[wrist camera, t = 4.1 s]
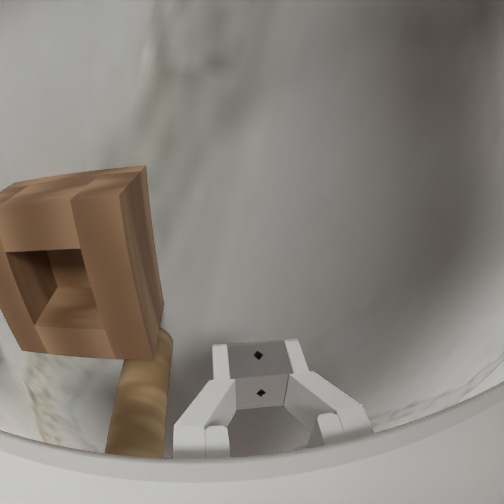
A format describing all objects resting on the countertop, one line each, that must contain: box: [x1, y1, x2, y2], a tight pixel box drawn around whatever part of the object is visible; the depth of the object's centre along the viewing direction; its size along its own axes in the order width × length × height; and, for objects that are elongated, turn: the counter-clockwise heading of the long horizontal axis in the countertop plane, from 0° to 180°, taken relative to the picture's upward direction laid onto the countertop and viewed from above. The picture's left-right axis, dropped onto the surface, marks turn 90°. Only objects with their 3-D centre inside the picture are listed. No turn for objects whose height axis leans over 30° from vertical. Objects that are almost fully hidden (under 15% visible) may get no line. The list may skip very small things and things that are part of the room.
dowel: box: [105, 328, 173, 458], centre depth 17 cm, size 3×3×10 cm
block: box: [0, 166, 164, 360], centre depth 15 cm, size 9×9×5 cm
